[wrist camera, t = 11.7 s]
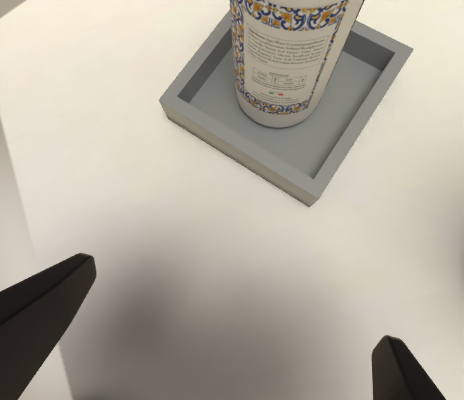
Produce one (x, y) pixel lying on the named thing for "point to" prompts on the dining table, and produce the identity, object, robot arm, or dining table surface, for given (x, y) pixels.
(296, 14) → the bath foam
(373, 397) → the robot arm
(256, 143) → the grey square tray
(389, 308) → the dining table surface
